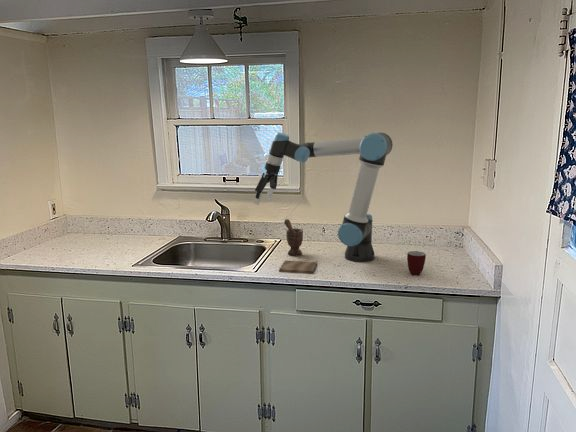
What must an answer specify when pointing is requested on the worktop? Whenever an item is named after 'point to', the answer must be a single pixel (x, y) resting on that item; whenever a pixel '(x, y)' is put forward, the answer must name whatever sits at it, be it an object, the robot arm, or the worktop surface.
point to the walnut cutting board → (298, 266)
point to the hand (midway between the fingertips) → (262, 201)
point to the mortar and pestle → (294, 239)
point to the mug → (416, 262)
